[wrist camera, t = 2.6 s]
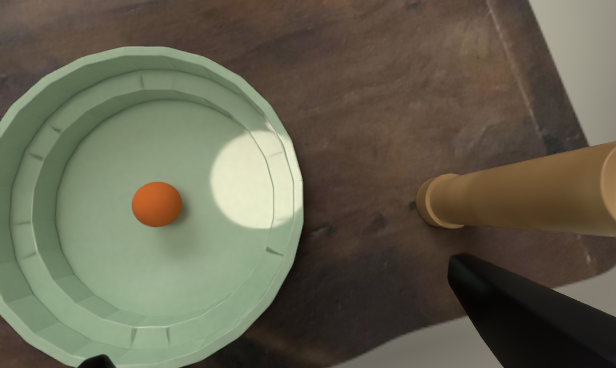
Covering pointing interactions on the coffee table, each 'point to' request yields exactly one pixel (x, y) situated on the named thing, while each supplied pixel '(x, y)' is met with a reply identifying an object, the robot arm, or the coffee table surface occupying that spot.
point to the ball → (156, 204)
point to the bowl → (119, 216)
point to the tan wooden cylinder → (530, 195)
